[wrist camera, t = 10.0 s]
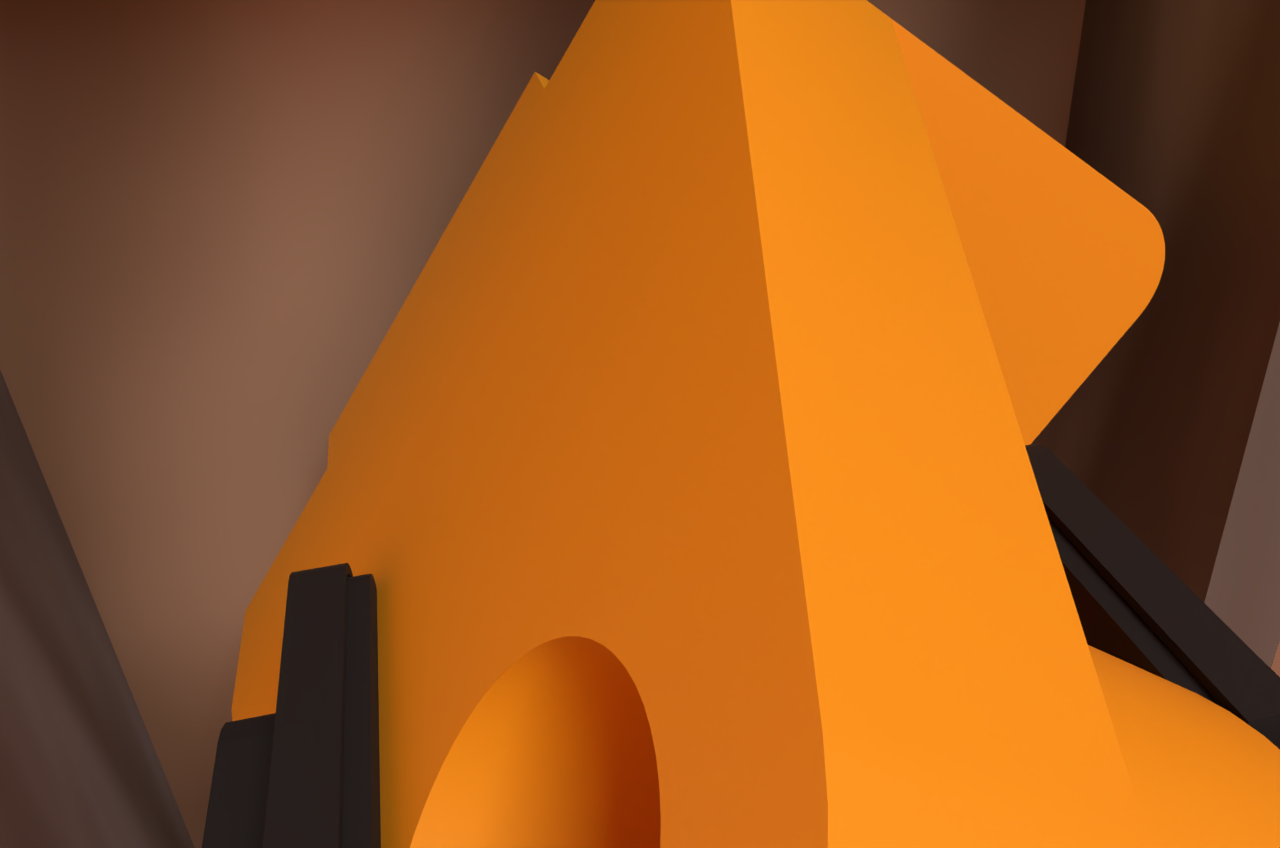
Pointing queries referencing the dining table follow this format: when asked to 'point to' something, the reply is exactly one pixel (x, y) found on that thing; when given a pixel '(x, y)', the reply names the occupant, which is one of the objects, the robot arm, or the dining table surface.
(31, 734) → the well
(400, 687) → the bracket
